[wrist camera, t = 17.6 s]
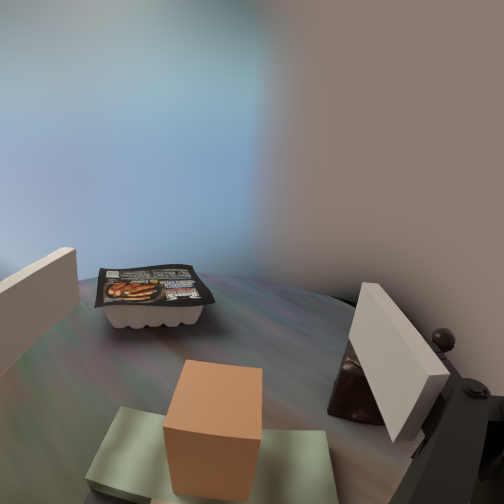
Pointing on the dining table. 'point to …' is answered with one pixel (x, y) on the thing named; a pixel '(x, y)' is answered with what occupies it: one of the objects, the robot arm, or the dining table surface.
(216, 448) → the terracotta block
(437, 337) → the brown manual coffee grinder
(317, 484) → the board
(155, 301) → the food packaging
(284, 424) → the dining table surface
